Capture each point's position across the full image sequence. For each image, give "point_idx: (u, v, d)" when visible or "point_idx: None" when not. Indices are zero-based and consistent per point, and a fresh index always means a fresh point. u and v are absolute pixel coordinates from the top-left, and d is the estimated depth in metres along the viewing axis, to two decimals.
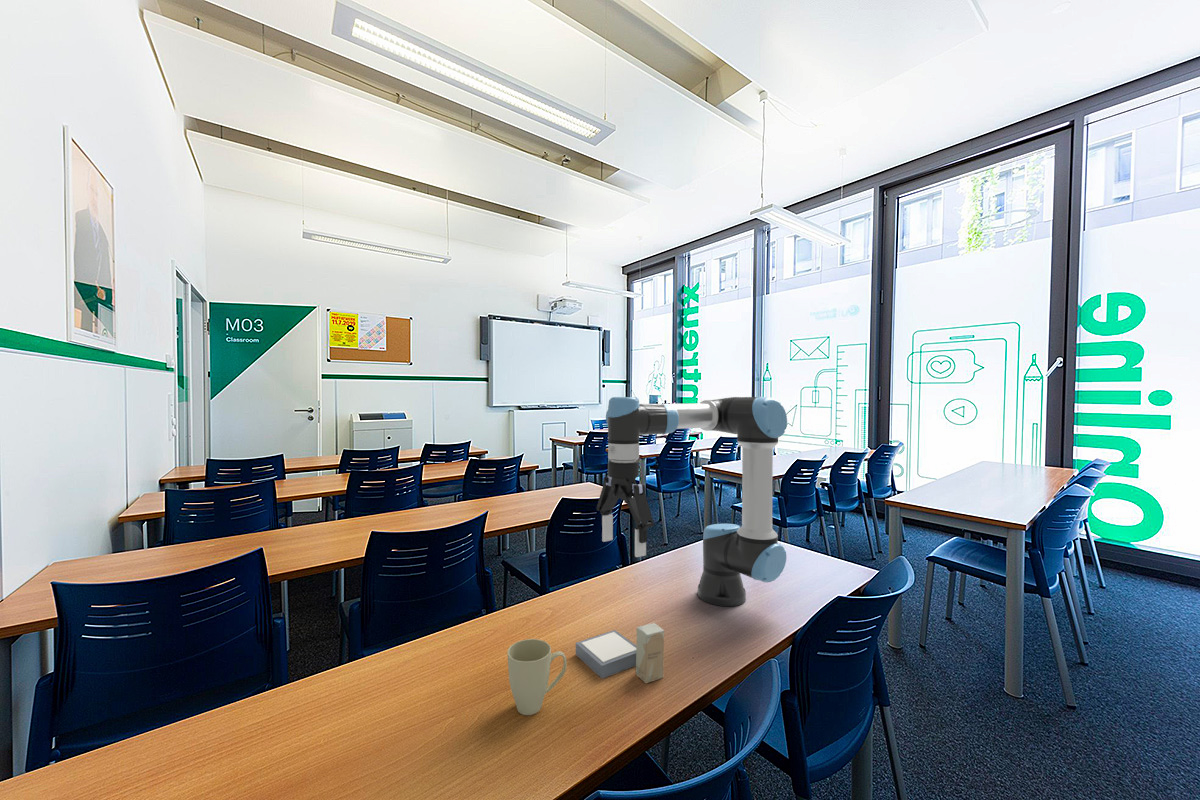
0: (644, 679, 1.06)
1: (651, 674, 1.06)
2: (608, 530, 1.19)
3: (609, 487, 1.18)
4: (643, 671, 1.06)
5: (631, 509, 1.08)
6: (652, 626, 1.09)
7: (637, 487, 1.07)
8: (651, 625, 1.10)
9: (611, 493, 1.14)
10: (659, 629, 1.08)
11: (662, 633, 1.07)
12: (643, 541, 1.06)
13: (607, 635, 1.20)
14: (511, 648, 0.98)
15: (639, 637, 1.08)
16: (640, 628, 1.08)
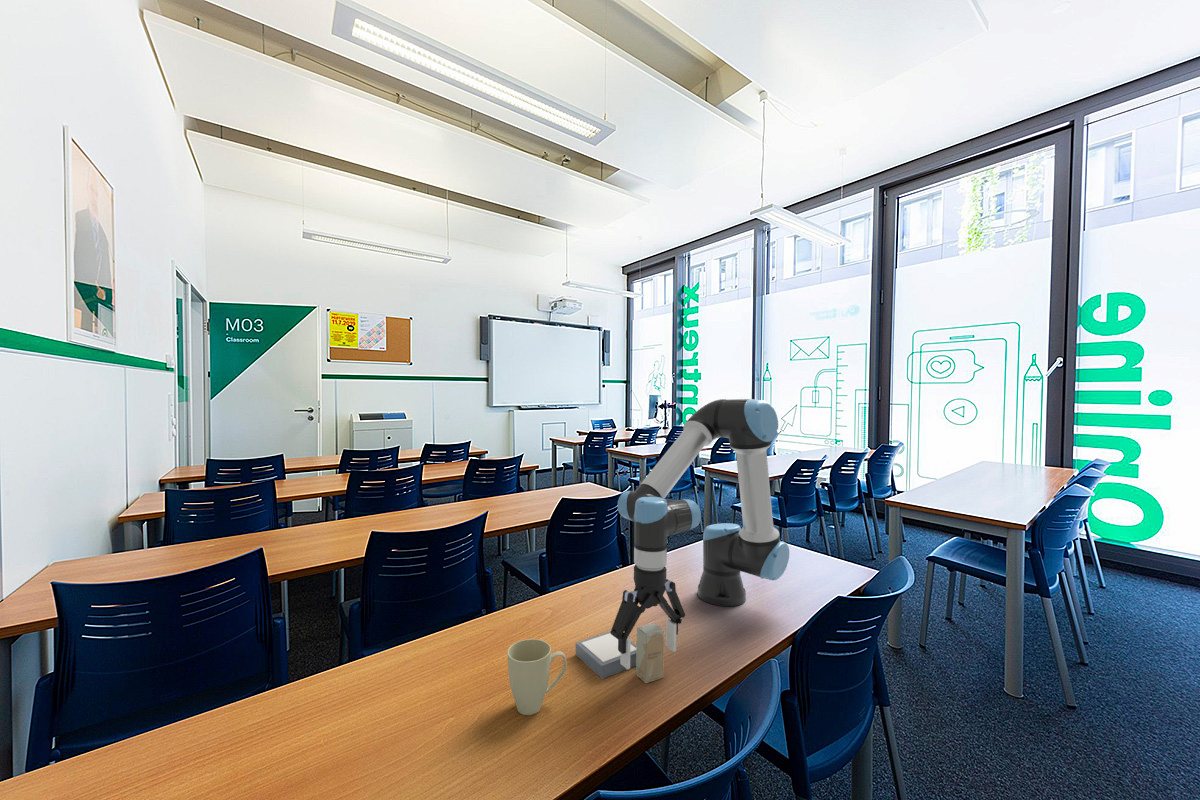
0: (644, 679, 1.06)
1: (651, 674, 1.06)
2: (670, 638, 1.11)
3: (669, 593, 1.11)
4: (643, 671, 1.06)
5: None
6: (652, 626, 1.09)
7: (623, 593, 1.05)
8: (651, 625, 1.10)
9: None
10: (659, 629, 1.08)
11: (662, 633, 1.07)
12: (619, 650, 1.04)
13: (607, 635, 1.20)
14: (511, 648, 0.98)
15: (639, 637, 1.08)
16: (640, 628, 1.08)
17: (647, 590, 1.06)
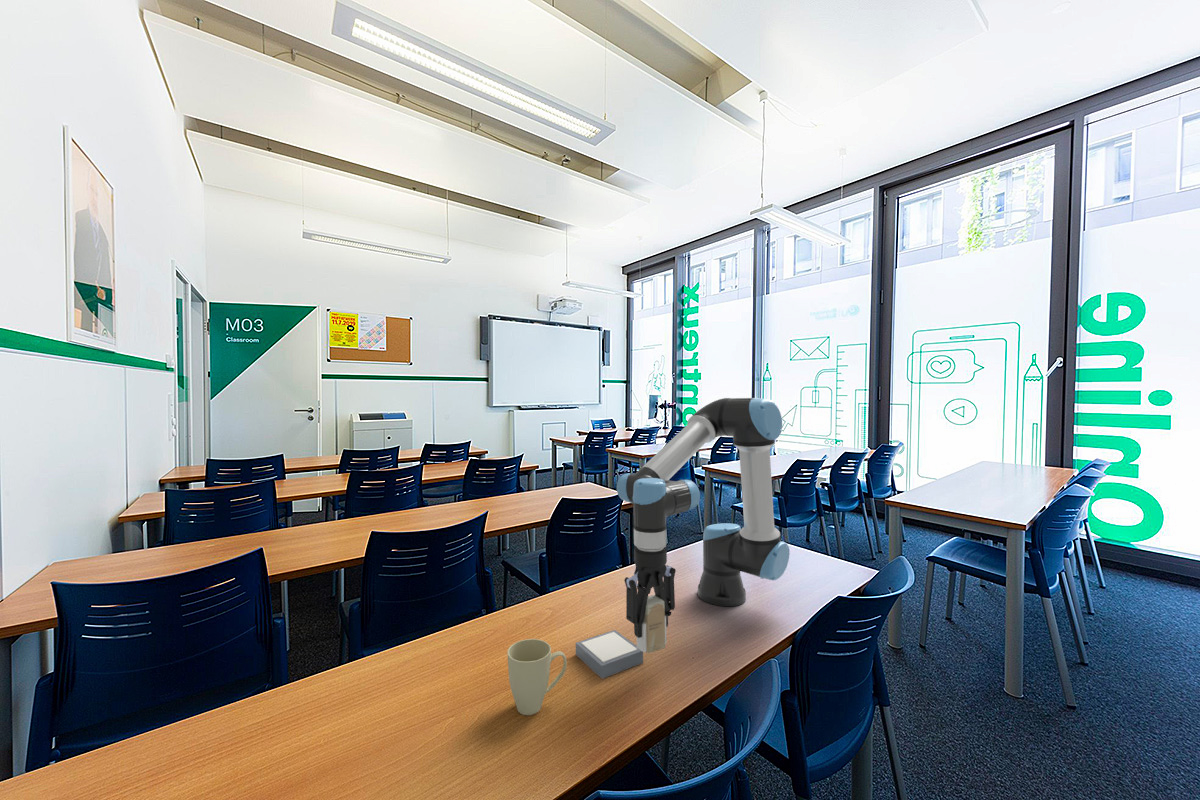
0: None
1: (653, 645, 1.06)
2: None
3: (667, 578, 1.11)
4: None
5: None
6: (653, 598, 1.09)
7: (625, 581, 1.05)
8: (651, 597, 1.10)
9: None
10: (659, 600, 1.08)
11: (662, 604, 1.07)
12: (635, 634, 1.06)
13: (607, 635, 1.20)
14: (511, 648, 0.98)
15: None
16: None
17: (646, 569, 1.06)
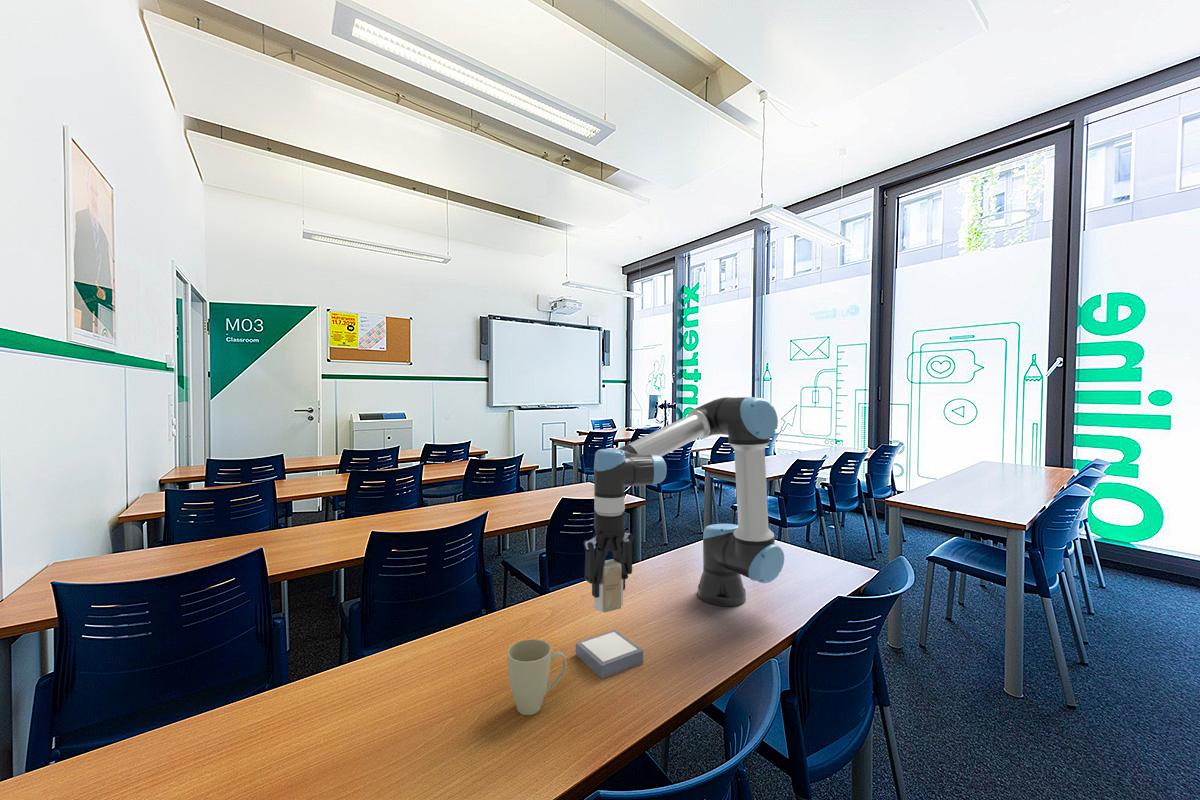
0: (603, 609, 1.13)
1: (609, 605, 1.13)
2: None
3: (625, 544, 1.18)
4: None
5: None
6: (611, 561, 1.16)
7: (584, 544, 1.12)
8: (610, 560, 1.16)
9: None
10: (617, 563, 1.15)
11: (619, 567, 1.14)
12: (593, 594, 1.13)
13: (607, 635, 1.20)
14: (511, 648, 0.98)
15: None
16: None
17: (604, 533, 1.13)
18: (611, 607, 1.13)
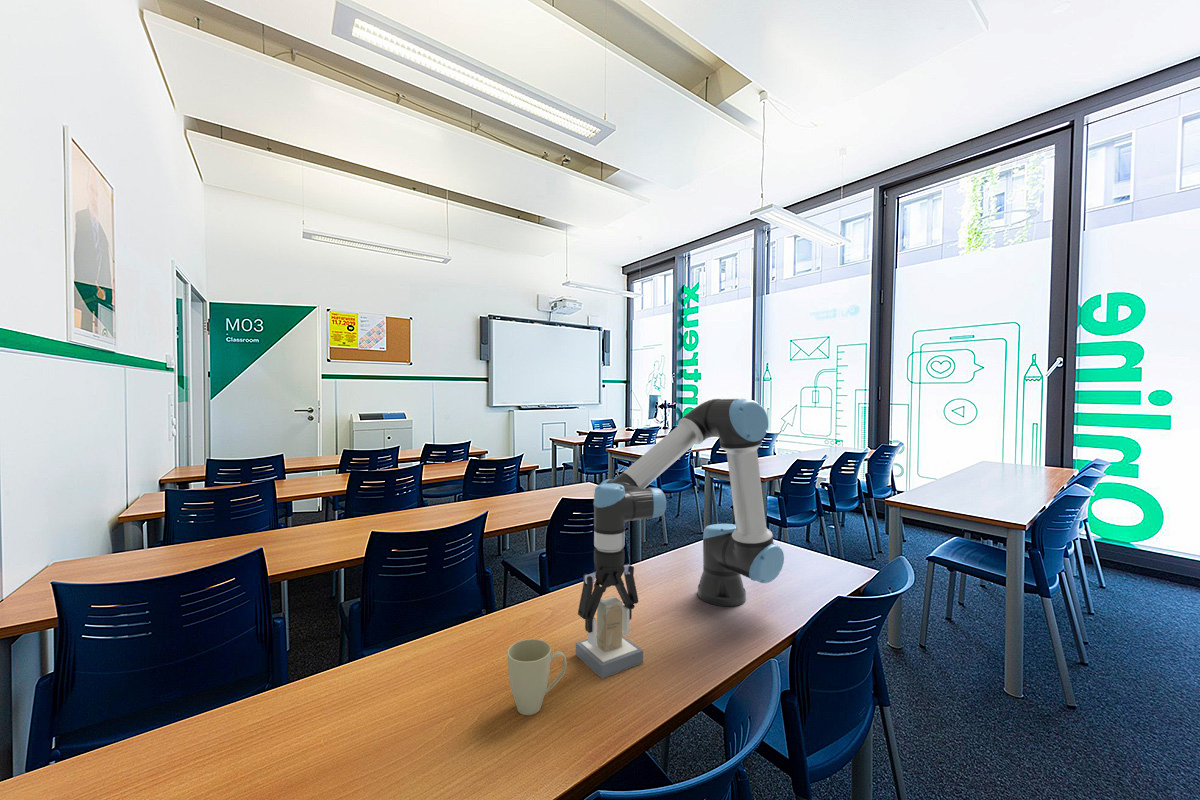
0: (604, 648, 1.13)
1: (610, 643, 1.13)
2: (623, 622, 1.18)
3: (627, 576, 1.18)
4: (603, 640, 1.13)
5: None
6: (612, 599, 1.16)
7: (583, 577, 1.12)
8: (611, 598, 1.17)
9: None
10: (618, 601, 1.15)
11: (621, 605, 1.15)
12: (586, 629, 1.12)
13: None
14: (511, 648, 0.98)
15: (599, 609, 1.15)
16: (600, 601, 1.15)
17: (605, 569, 1.13)
18: (612, 646, 1.13)
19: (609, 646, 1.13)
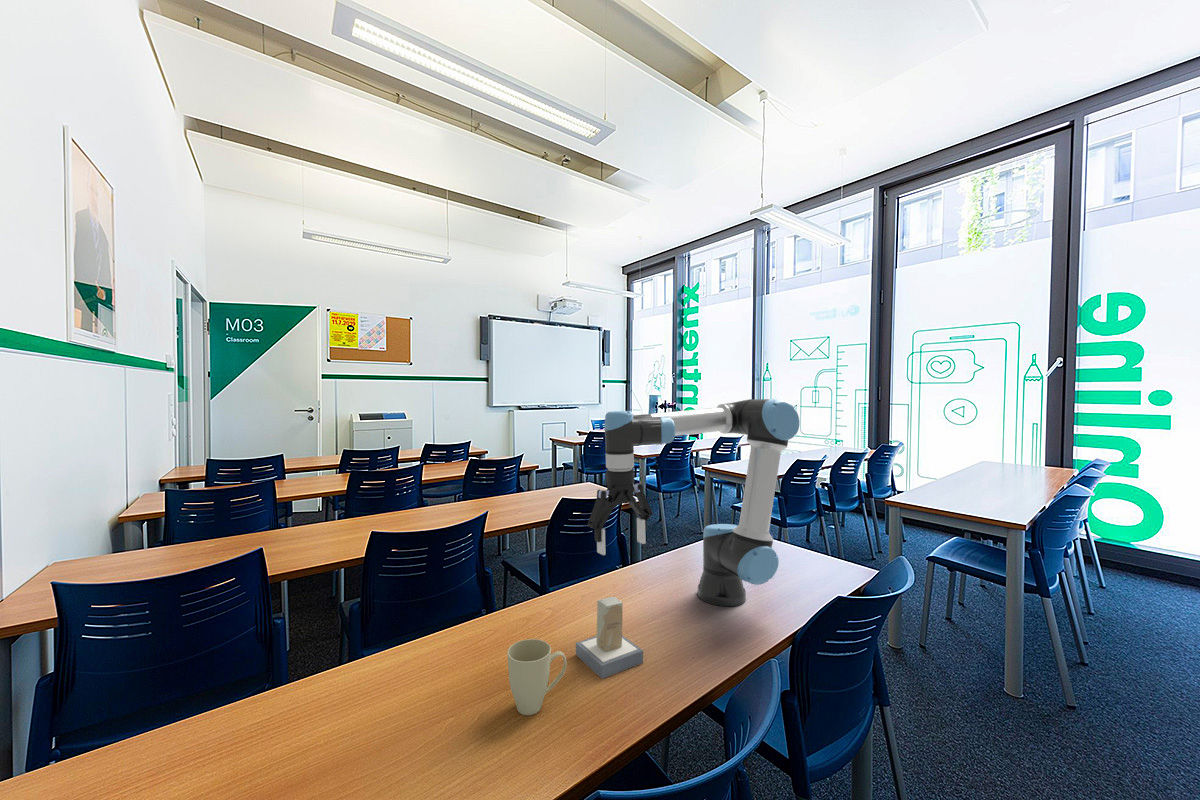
0: (604, 648, 1.13)
1: (610, 643, 1.13)
2: (640, 533, 1.29)
3: (638, 494, 1.28)
4: (603, 640, 1.13)
5: None
6: (612, 599, 1.16)
7: (597, 492, 1.22)
8: (611, 598, 1.17)
9: None
10: (618, 601, 1.15)
11: (621, 605, 1.15)
12: (595, 539, 1.21)
13: None
14: (511, 648, 0.98)
15: (599, 609, 1.15)
16: (600, 601, 1.15)
17: (618, 489, 1.23)
18: (612, 646, 1.13)
19: (609, 646, 1.13)
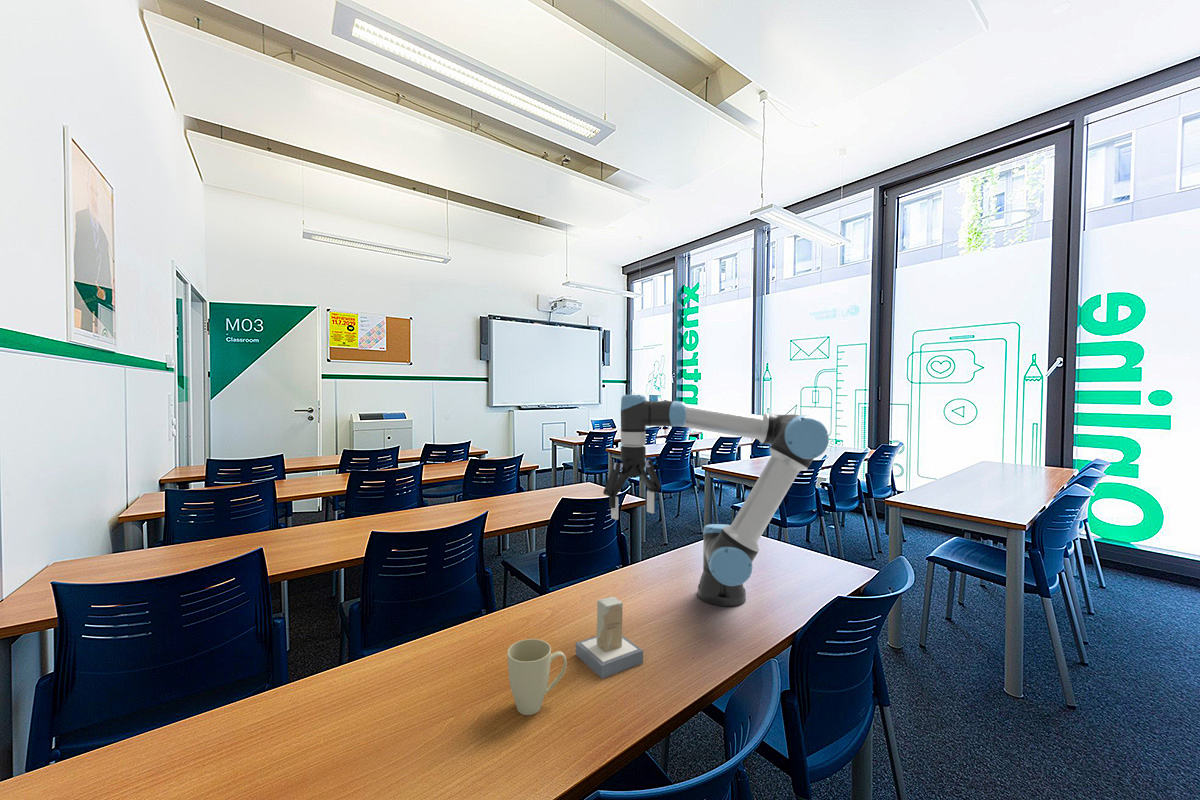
0: (604, 648, 1.13)
1: (610, 643, 1.13)
2: (649, 504, 1.45)
3: (648, 468, 1.45)
4: (603, 640, 1.13)
5: None
6: (612, 599, 1.16)
7: (613, 464, 1.38)
8: (611, 598, 1.17)
9: None
10: (618, 601, 1.15)
11: (621, 605, 1.15)
12: (610, 506, 1.37)
13: None
14: (511, 648, 0.98)
15: (599, 609, 1.15)
16: (600, 601, 1.15)
17: (631, 463, 1.40)
18: (612, 646, 1.13)
19: (609, 646, 1.13)
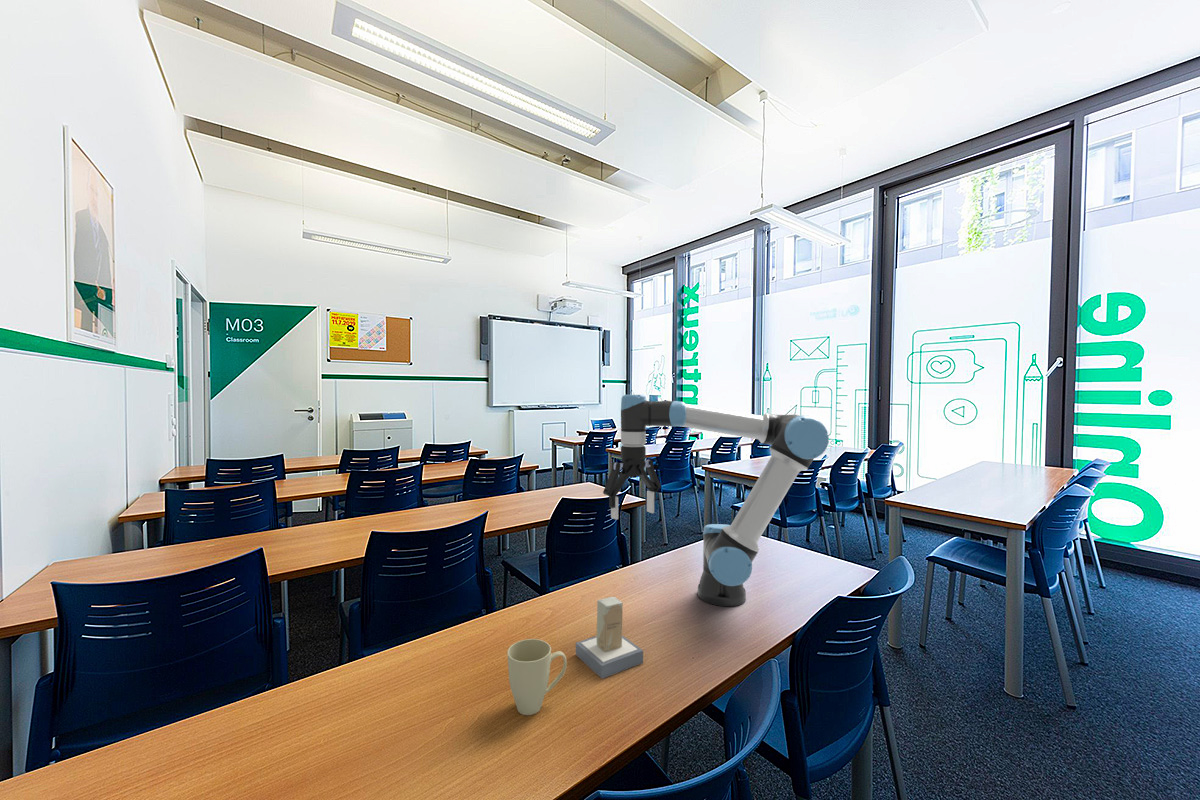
0: (604, 648, 1.13)
1: (610, 643, 1.13)
2: (649, 503, 1.45)
3: (648, 468, 1.45)
4: (603, 640, 1.13)
5: None
6: (612, 599, 1.16)
7: (613, 464, 1.39)
8: (611, 598, 1.17)
9: None
10: (618, 601, 1.15)
11: (621, 605, 1.15)
12: (610, 506, 1.37)
13: None
14: (511, 648, 0.98)
15: (599, 609, 1.15)
16: (600, 601, 1.15)
17: (631, 462, 1.40)
18: (612, 646, 1.13)
19: (609, 646, 1.13)
